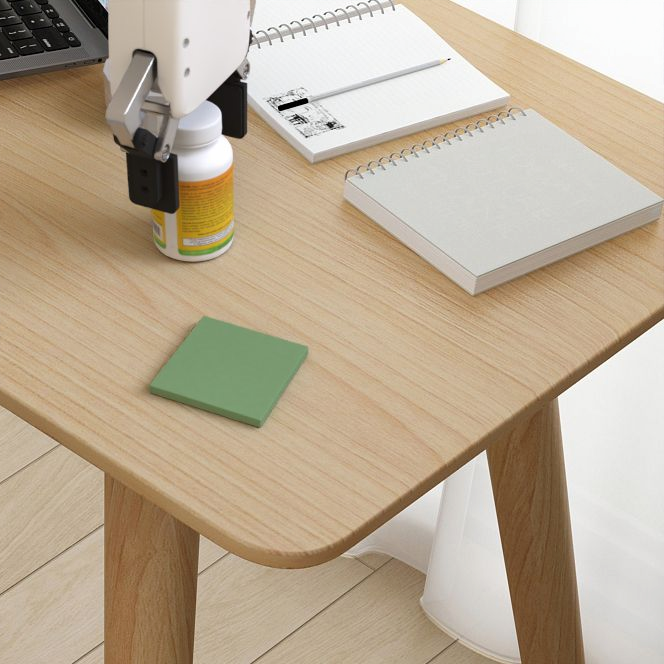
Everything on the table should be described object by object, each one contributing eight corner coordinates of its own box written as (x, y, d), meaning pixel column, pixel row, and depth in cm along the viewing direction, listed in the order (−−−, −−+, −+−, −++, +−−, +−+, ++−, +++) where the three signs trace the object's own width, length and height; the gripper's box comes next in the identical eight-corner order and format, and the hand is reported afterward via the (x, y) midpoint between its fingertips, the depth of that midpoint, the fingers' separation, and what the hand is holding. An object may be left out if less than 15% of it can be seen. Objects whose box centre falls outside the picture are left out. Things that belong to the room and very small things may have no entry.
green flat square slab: (149, 392, 69) (148, 385, 69) (203, 322, 74) (203, 315, 74) (260, 428, 67) (260, 420, 67) (308, 353, 72) (308, 346, 72)
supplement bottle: (248, 232, 82) (249, 105, 75) (206, 273, 78) (203, 144, 72) (181, 209, 83) (176, 83, 77) (137, 248, 80) (128, 119, 73)
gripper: (192, -154, 73) (198, 96, 84) (37, -56, 61) (68, 223, 72) (305, -133, 71) (297, 120, 82) (169, -27, 59) (181, 255, 70)
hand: (190, 168), depth 77 cm, fingers open, 9 cm apart
